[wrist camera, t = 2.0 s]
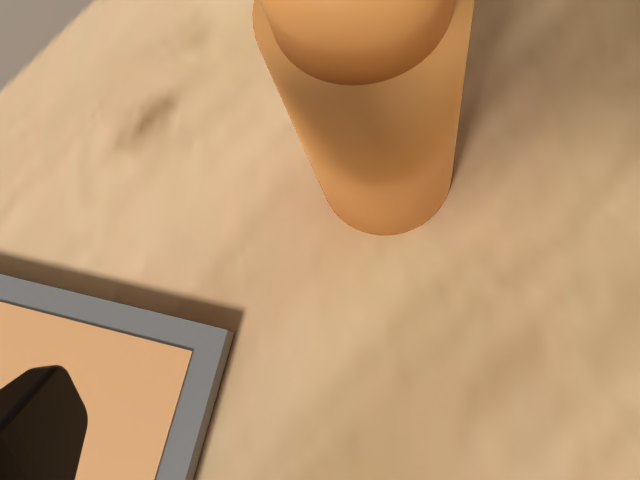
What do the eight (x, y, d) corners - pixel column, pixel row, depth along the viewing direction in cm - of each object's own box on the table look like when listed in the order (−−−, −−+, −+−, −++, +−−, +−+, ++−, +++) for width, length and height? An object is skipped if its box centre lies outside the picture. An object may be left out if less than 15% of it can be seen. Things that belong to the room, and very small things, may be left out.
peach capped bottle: (463, 125, 23) (512, -216, 10) (437, 247, 22) (458, 29, 9) (338, 106, 24) (249, -225, 11) (308, 221, 23) (173, -5, 10)
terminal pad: (234, 332, 22) (226, 329, 21) (130, 704, 19) (116, 717, 18) (-43, 264, 24) (-60, 259, 24) (-169, 583, 22) (-194, 590, 21)
